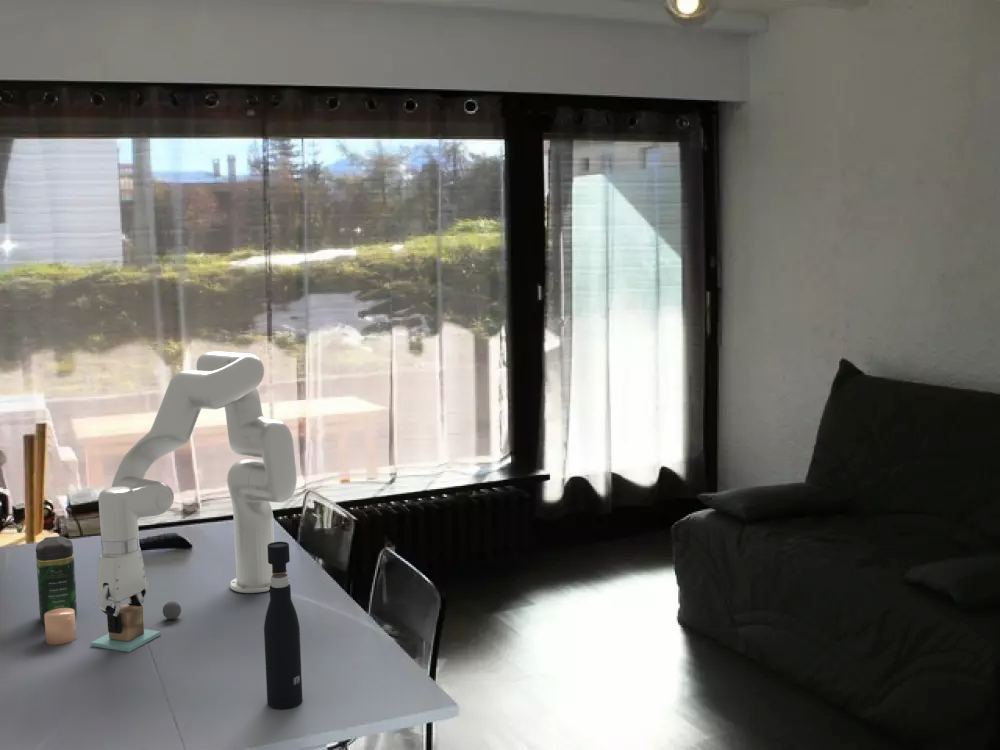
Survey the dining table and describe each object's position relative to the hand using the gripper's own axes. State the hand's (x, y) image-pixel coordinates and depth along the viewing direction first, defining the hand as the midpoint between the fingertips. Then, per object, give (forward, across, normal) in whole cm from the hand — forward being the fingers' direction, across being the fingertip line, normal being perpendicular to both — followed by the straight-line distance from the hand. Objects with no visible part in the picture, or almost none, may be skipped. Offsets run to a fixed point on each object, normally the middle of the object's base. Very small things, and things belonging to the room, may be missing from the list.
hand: (125, 626), depth 226 cm
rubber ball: (+1, -14, +1) cm, 14 cm away
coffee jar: (+3, -6, -24) cm, 25 cm away
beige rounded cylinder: (+3, +4, -14) cm, 15 cm away
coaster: (+3, 0, 0) cm, 3 cm away
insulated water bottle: (+3, +15, +49) cm, 51 cm away
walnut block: (+2, 0, 0) cm, 2 cm away
